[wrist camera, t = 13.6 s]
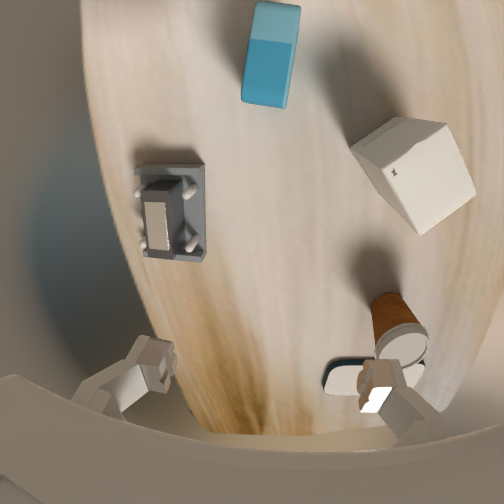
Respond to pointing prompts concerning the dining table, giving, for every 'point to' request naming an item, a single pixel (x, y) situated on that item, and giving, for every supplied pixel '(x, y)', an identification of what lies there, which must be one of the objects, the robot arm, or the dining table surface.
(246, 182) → the dining table surface
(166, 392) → the robot arm
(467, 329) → the dining table surface
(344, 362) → the white teal rounded slab
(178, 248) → the block
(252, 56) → the data package
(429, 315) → the dining table surface
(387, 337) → the disposable coffee cup
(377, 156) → the supplement box
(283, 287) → the dining table surface
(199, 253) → the tray
